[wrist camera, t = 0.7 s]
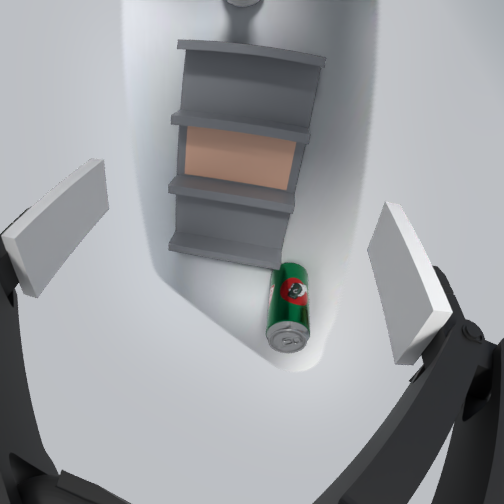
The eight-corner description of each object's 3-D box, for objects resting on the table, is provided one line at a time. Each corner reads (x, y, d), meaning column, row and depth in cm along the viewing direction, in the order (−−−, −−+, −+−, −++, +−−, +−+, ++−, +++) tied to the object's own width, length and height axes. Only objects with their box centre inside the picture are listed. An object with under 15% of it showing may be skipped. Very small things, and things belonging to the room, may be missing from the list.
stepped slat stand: (189, 40, 28) (178, 39, 25) (321, 57, 28) (326, 57, 25) (177, 234, 42) (168, 250, 39) (280, 252, 42) (279, 270, 39)
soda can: (266, 264, 44) (258, 332, 34) (302, 256, 42) (303, 323, 33) (278, 291, 46) (273, 358, 37) (311, 283, 45) (314, 351, 35)
